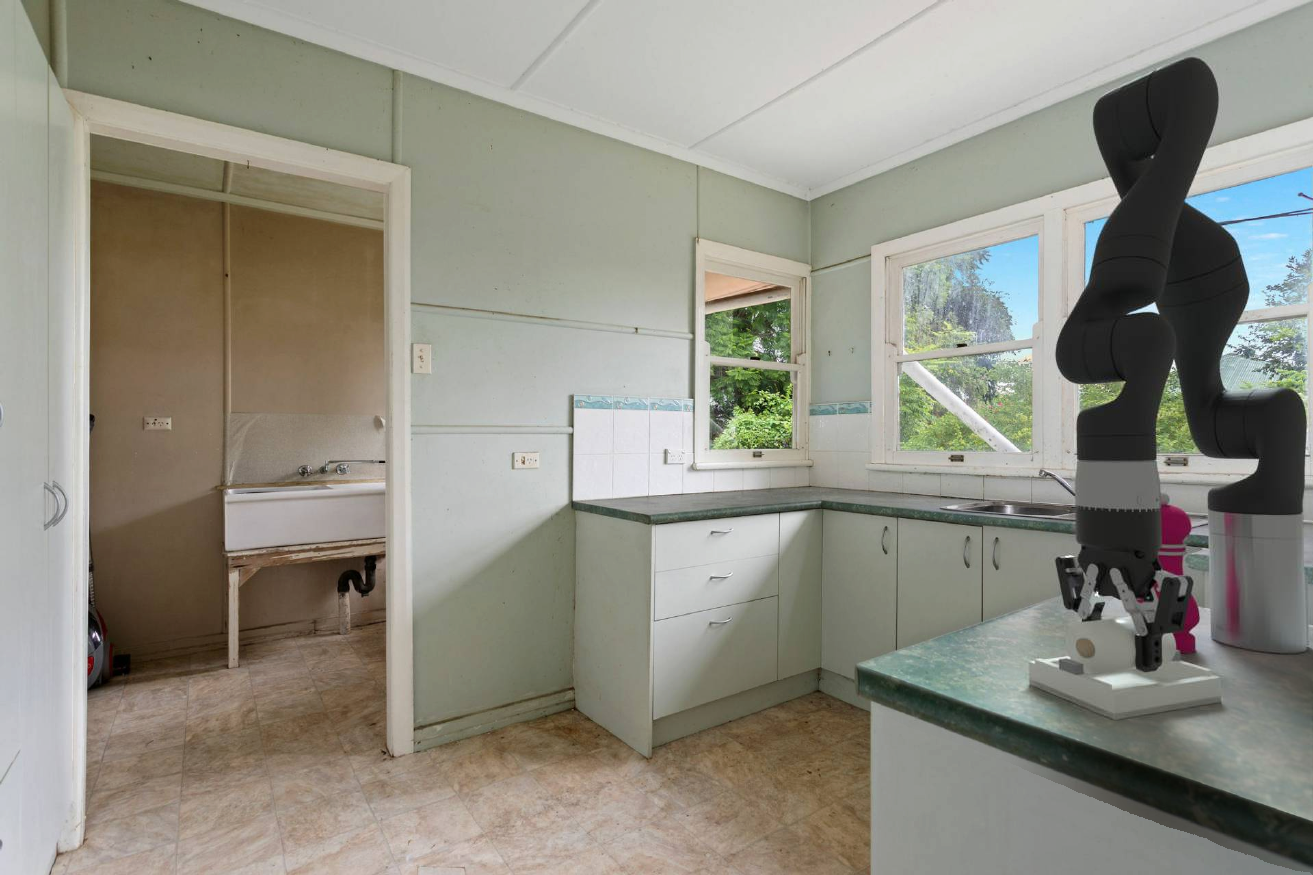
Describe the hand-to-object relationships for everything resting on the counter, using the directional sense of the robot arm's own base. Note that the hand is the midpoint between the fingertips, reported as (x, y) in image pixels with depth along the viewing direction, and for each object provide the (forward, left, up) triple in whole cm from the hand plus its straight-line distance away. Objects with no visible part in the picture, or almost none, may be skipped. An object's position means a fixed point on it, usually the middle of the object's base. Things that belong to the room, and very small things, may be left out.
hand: (1120, 661), depth 70 cm
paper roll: (0, 0, -1) cm, 1 cm away
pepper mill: (-20, -10, -4) cm, 23 cm away
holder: (0, 0, -3) cm, 3 cm away
